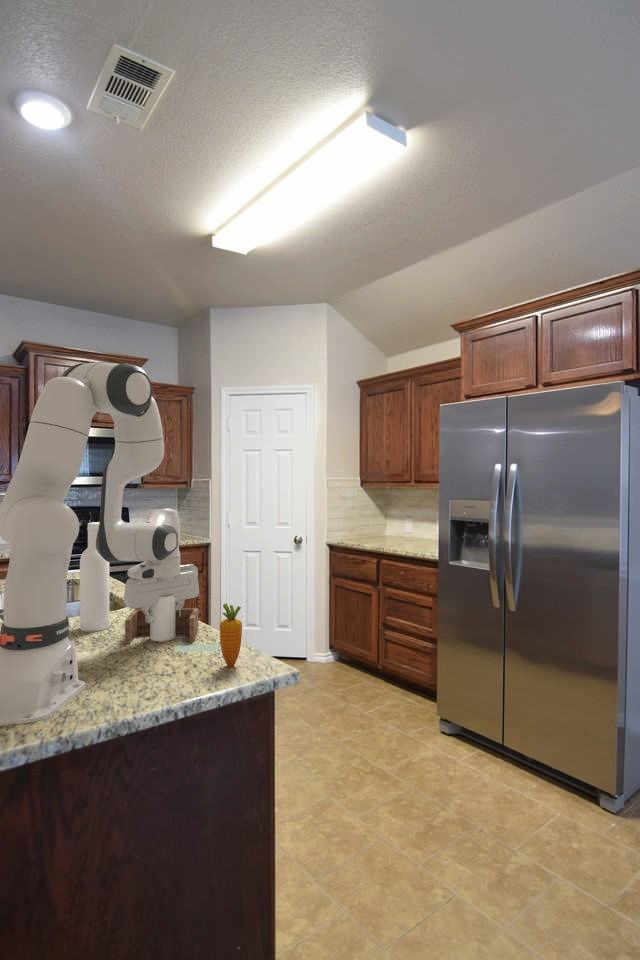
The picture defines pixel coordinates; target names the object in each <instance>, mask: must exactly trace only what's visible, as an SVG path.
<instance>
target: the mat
mask: <svg viewBox="0 0 640 960" xmlns="http://www.w3.org/2000/svg"><path fill="white" fill-rule="evenodd" d="M220 647H221V643H220V644H219V643H215V644H191V645H189V644H188V645H185V644H183V645H176V646H175V647H174V650H173V653H184V652H190V653H191V652H218V651H220Z"/></svg>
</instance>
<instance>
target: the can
mask: <svg viewBox="0 0 640 960" xmlns="http://www.w3.org/2000/svg"><path fill="white" fill-rule="evenodd" d="M159 597H160V598H159V600H158V602H157V604H156V605H152V606H150V614H151V615H153V616H154V618H153V620H154V621H153V622H150V634H149V635H150V640H151V641H152V642H153V641H154V642H167V641H168V642H169V641H170V640H173V639H175V638H176V633H175V609H176V601H175V598H174V597H173V594H172V595H169V596H159Z"/></svg>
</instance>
